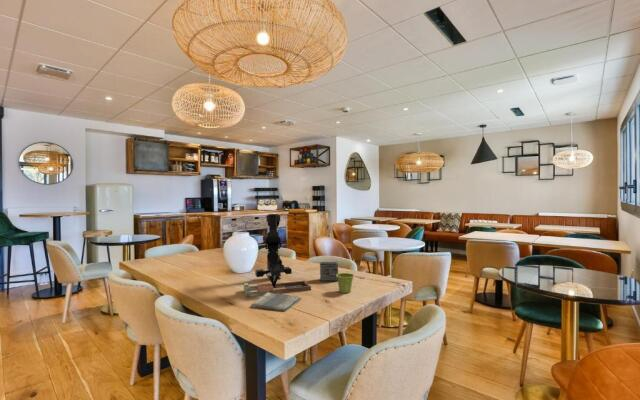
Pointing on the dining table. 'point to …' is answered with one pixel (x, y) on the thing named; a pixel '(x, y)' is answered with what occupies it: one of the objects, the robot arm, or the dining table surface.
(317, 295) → the dining table surface
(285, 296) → the dish towel
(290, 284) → the channel
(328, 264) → the small box
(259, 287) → the block
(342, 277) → the plant pot
